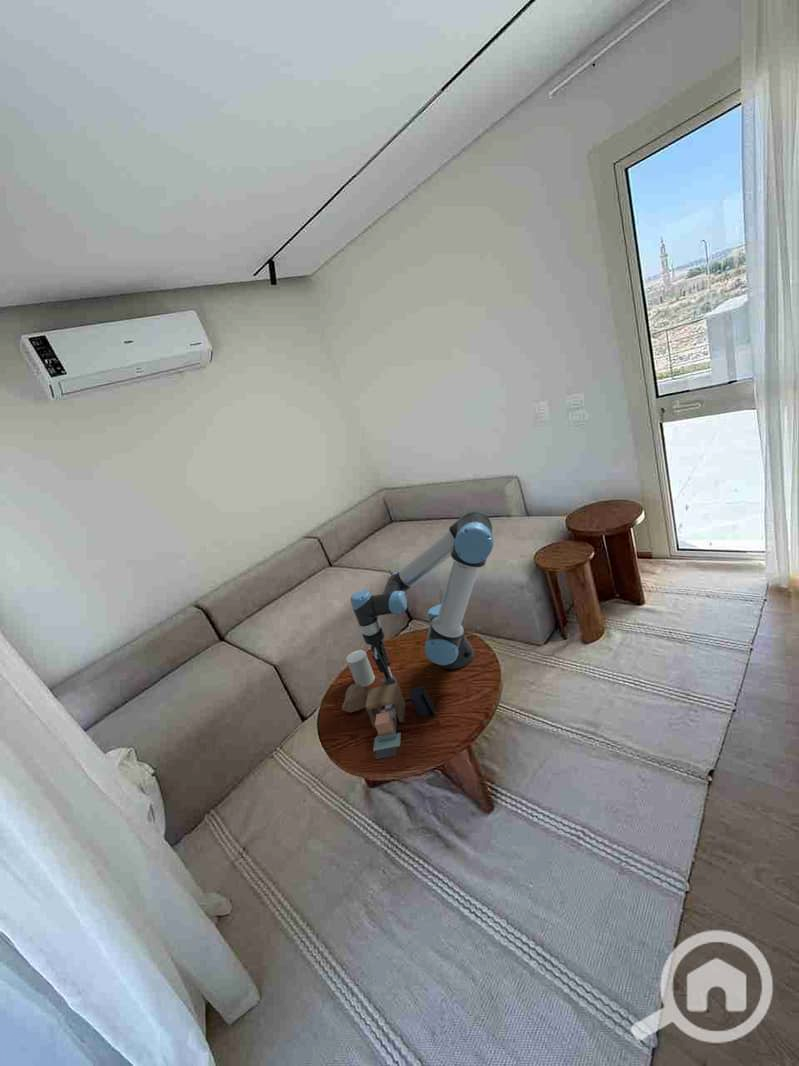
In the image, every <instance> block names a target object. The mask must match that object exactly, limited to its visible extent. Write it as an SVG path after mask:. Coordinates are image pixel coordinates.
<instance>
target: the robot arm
mask: <svg viewBox="0 0 799 1066" xmlns="http://www.w3.org/2000/svg"><path fill="white" fill-rule="evenodd" d="M493 547H494V536H493V524H492V522H491V520H490V519H489V517H488V516H487V515H486V514H485V513H483V512H479V511H470V512H467V513H465V514H463V515H462V516H461V517H460V518H459V519H457V520H456V521H455V522H454V523H453V524H452V525H450V526H449V527H448V531H447V532H446V533H445V534H444V535H442V536H441V537H440V538H439V539H437V540H436V541H435V542H434V543H433V544H431V545H430V546H429V547H428V548H426V549H425V550H424V551H422V552H421V553H420V554H419V555H418V556H416V558H414V559H413V560H411V561H410V562H409V563H408V564H407V565H406V566H404V567H403V568H402V569H400V571H397V572H394V573H392V574H390V576H389V578H388V579H387V581H386V585H385V586H384V590H383V591H382V593H381V594H375V595H372V594H371V593H370V591H369V590H365V589H361V590H359V591H357V592H355V593H353V594H352V595H351V597H350V600H349V601H350V604H351V607H352V611H353V612H354V615H355V618H356V620H357V623H358V625H357V626H358V628H359V629H360V631H361V634H362V638H363V640H364V643H365V644H366V645H369V646H370V648H371V651H372V652H373V655H372V659H373V660H374V662H375V664H376V666H377V669H378V670H379V672H380V673H382V675H383V678H388V677H392V676H393V674H392V672H391V669H390V666H391V662H389V657H388V653H387V651H386V647H385V643H384V638H385V633H384V631H383V628H382V624H381V622H380V619H379V617H381V616H389V615H395V614H396V615H397V614H399V613H403V612H406V610H407V607H408V599H407V596H406V592H407V591H409V590H410V589H411V588H412V587H413V586H416V584H418V583H419V582H420V581H422V580H423V579H424V578H425V577H426V576H428V575H429V574H431V573H432V572H433V571H434V570H435V569H437V568H438V567H439V566H441V565H442V564H443V563H445V562H446V561H447V560H449V559H450V558H451V559H452V560H453V563H452V566H451V570H450V573H449V575H448V580H447V582H446V587H445V591H444V594H443V598H442V601H441V603H440V604H437V605H435V606H432V607H431V608H430V609H429V610H428V611H427V619H428V621H429V626H428V632H427V637H426V641H425V642H426V643H425V644H424V653H425V655H426V657H427V659H428V660H429V661H430V662H432V663H433V664H436V665H438V666H439V667H440V668H442V669H445V670H456V669H461V668H463V667H466V666H467V665H468V664H470V663H471V662H472V661H473V659H474V657H475V651H474V648H473V646H472V644H471V643H470V641H469V640H468V639H467V637H466V635H465V632H464V627H463V625H462V623H463V620H464V617H465V613H466V611H467V610H466V609H467V607H468V604H469V600H470V598H471V593H472V591H473V588H474V585H475V582H476V579H477V575H478V572H479V569H481V568H483V567H484V566H486V562H487V560H488V558H489V556H490V555H491V553H492V551H493V549H494V548H493Z"/></svg>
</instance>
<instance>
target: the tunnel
mask: <svg viewBox="0 0 799 1066" xmlns="http://www.w3.org/2000/svg"><path fill="white" fill-rule="evenodd" d="M367 693H368V695H367V701H366V707H365V709H366V712H367V715H368V717H369V720H370V722H371V725H372V727H373V728H375V729H376V727H375V721H376V714H380V712H381V708H380V707H385V706H386V705H391V704H393V708H395V710H396V713H397V719H398V721H399V723H403V722H405V713H406V712H405V710H406V703H405V699H404V697H403V694H402V691H401V688H400V685H399V683H398V682H397V683H395V684H390V685H386V686H383V685H381V686H376V687H373V688H369V689H368V690H367Z"/></svg>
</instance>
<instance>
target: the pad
mask: <svg viewBox="0 0 799 1066" xmlns="http://www.w3.org/2000/svg"><path fill="white" fill-rule="evenodd" d="M401 736H402V733H401V732H396V738H395V739H390V740H385V741H380V742H378V740H377V738H376V737H374V741H373V748H372V750H373V751H372V752H376V751H380V750H385V749H390V748H395V747H397V748H398V747H401Z"/></svg>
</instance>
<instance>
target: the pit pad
mask: <svg viewBox="0 0 799 1066" xmlns="http://www.w3.org/2000/svg"><path fill="white" fill-rule="evenodd" d="M396 755H398V747H393V748H388V749H383V750H378V751H375V758H374V760H375V759H377V760H382V759H381V758H383V759H387V758H386V757H388V758H392V757H391V756H393V757H396Z"/></svg>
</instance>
